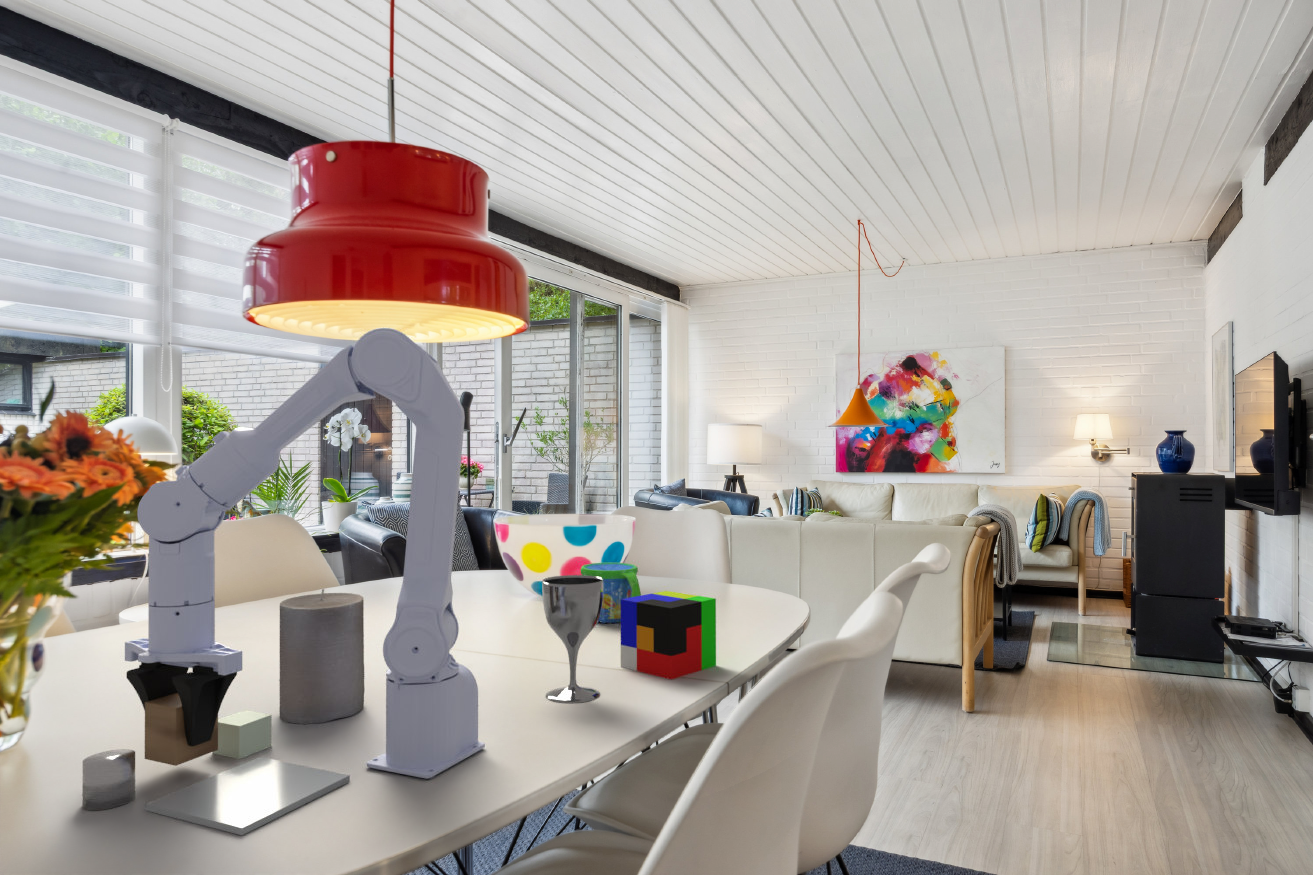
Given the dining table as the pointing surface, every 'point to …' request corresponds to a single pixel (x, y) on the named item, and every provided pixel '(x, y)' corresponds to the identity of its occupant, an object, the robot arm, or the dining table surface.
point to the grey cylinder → (108, 779)
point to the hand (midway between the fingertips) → (181, 739)
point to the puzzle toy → (668, 633)
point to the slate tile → (248, 795)
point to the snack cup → (614, 586)
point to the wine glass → (572, 624)
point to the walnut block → (171, 733)
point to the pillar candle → (321, 657)
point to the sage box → (243, 734)
